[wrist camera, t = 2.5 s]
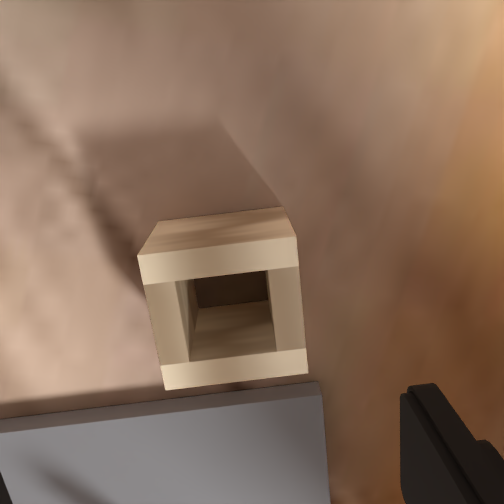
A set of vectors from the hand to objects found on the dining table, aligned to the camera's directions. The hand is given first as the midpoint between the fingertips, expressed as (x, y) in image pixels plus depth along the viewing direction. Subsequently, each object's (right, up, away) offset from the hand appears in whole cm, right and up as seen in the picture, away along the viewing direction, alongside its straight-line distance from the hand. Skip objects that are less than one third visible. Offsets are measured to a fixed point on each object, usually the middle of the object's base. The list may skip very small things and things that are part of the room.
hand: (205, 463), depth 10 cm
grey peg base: (-4, -13, +18) cm, 22 cm away
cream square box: (0, +4, +12) cm, 13 cm away
